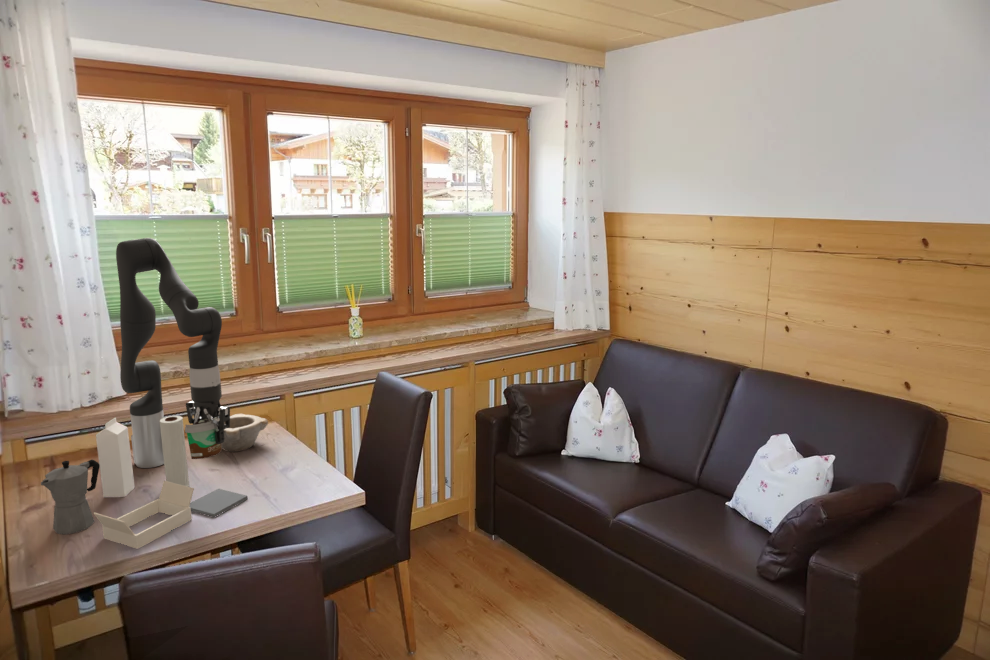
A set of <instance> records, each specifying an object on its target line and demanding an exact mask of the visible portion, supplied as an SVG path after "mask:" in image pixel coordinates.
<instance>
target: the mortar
mask: <svg viewBox="0 0 990 660" xmlns="http://www.w3.org/2000/svg"><path fill="white" fill-rule="evenodd" d="M224 424H225V422H224ZM268 424H269V421H268V419H267V418H264V417H260V416H258V415H253V414H244V413H236V414H232V415H230V427H229V428H226V429H224V438H225V440H224V442H223V443H221V450H224V451H226V452H233V453H234V452H242V451H245V450H248V449H251V447H252V446H254V444H255V443H256V440H257V439H258V436H259V434H260V432H261V431H263V430H265V428H267V426H268Z"/></svg>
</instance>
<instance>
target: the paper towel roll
mask: <svg viewBox="0 0 990 660" xmlns="http://www.w3.org/2000/svg"><path fill="white" fill-rule="evenodd" d="M183 419H184V418H183V416H180V415H171V416H166V417H165V416H164V418H162V419H161V420H160V429H161V439H162V448H163V457H164V464H163V467H164V475H165V481H168V482H172V483H176V484H179V485H183V486H187V487H190V480H189V470H188V460H187V459H188V458H187V450H186V448H187V447H186V438H185V427H184V420H183Z"/></svg>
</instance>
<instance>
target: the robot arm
mask: <svg viewBox="0 0 990 660" xmlns="http://www.w3.org/2000/svg"><path fill="white" fill-rule="evenodd" d="M115 258H116V259H115V261H116V267H117V269H116V270H117V275H118V283H119V300H120V302H119V303H120V304H119V305H120V306H119V307H120V308H119V312H120V313H119V321H120V336H121V337H120V338H121V339H120V340H121V356H120V374H119V375H120V385H121V388H122V390H123V391H124V393H127V394H136V393H141V392H146V394H145V395H143V396H142V397H140V398H138V399H137V400H134V401H133V402H132V403H130V405H129V413H130V414H129V415H130V422H131V431H132V434H131V435H130V440H131V446H132V455H133V464H135V465H136V466H135V467H138V468H140V469H151V468H155V467H159V466H162V465H163V466H164V457H163V448H162V439H161V429H160V420H161V419H162V418H165V415H164V407H163V390H162V373H161V368H160V366H159V363H158V362H157V361H156V360H144V361H139V362H137V358H138V356H139V354H140V352H142V350H143V349H144V347H145V346H146V345H147V344H148V342H149V341H150V340H151V338H152V337H153V335H154V333H155V331H156V326H157V322H156V319H157V318H156V315H157V314H156V313H157V312H156V309H155V306H154V304H153V303H152V302H151V301H150V299H149V298H148V297H147V296H146V295H145V294H144V293H143V292H142V291H141V289H140V288H139V286H138V285H137V279H136V276H137V274H141V273H144V272H145V273H146V272H150V271H156V272H158V273H159V274H160V279H159V282H158V292H159V296H160V298H161V299H162V300H163V303H165V304H166V306H167V307H168V309H170V310H171V312H172V314H173V316H174V318H175V321H176V323H177V327H178V331H180V333H181V334H182V335H183V336H185V337H188V338H194V337H200V336H202V337H201V339H200V340H199V341H198V342H196V343H194V344H192V345H190V346H189V347H188V352H187V354H188V355H187V356H188V365H189V374H188V375H189V385H190V386H189V387H190V397H191V401H188V402H186V403H185V408H186V409H185V410H186V413H187V419H188V423H189V425H193V424H194V423H196V422H197V421H198V420H201V419H208V420H209V421H210V422H211V424H214V427H215V439H216V444H221V443H223V442H224V440H225V438H224V429H226V428H229V427H230V416H231V409H230V408H231V407H229V406H225V407H224V406H222V405H221V402H220V400H221V398H222V396H223V395H222V383H221V373H220V367H219V359H218V358H219V357H218V347H219V341H220V337H221V331H222V327H223V326H222V325H223V323H222V322H223V321H222V316H221V314H220V312H219V311H218V309H216V308H214V307H209V306H207V307H202V308H201V307H200V308H199V304H200V303H199V299H198V298H197V296H196V295H195V294H194V293H193V291H192V290H191V289H190V288H189V287H188V286H187V285H186V284H185V282H184V281H183V280H182V278H181V277H180V276H179V273H177V270H176V268H175V267H174V264H172V261H171V260H170V258H169V256H168V255H167V253H166V252H165V250H164V248H163V247H162V245H161V244H160V243H159V242H158V241H157V240H156V239H155V238H151V237H144V238H136V239H129V240H123V241H120V242H119V243H117V246H116V249H115ZM216 417H218V419H216V420H214V418H216ZM217 422H219V424H220V426H218V424H217ZM224 422H225V424H224Z"/></svg>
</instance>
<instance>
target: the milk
mask: <svg viewBox="0 0 990 660" xmlns="http://www.w3.org/2000/svg"><path fill="white" fill-rule="evenodd" d="M104 426H105V428H104V429H102V430H101V431H99V432H98V433H96V434H95V440H96V449H97V456H98V457H97V458H98V463H99V465H100V467H99V471H100V473H99V474H100V479H101V488H102V497H103V498H125V497H127V496H128V495H129V494H131V492H132V491H133V490H134V489H135V478H134V471H133V463H132V462H133V461H132V453H131V444H130V438H129V437H130V436H129V428H128V426H126V425H124V424H122V423H120V422H118V421H117V417H114V418H112V419H110V420H108V421H107V422H106V423H105V425H104Z"/></svg>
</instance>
